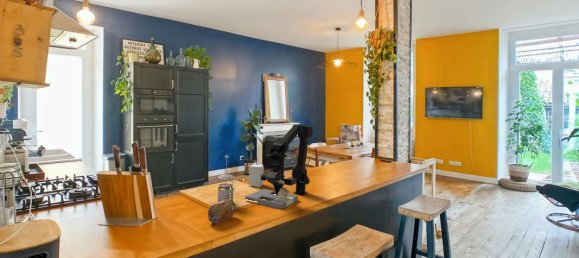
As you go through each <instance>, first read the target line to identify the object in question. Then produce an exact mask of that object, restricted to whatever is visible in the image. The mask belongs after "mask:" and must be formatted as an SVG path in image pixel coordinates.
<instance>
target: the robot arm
mask: <svg viewBox="0 0 579 258" xmlns="http://www.w3.org/2000/svg"><path fill="white" fill-rule="evenodd" d="M313 133H314V130H313V127H312V126H310V125H302V124H298V123H297V124H293V125H292V126H291V128H290V129H289V130H288V131H287V132H286V133H285V134H284V136H283V137H281V138H280V139H277V140H276V141H274V142H273V143H272V146H271V147H270V149H269V152H268V154H266V155H265V157H264V158H263V159H262V164H261V165H263V167H264V169H265V170H270V169H271V172H269V173H267V172H265V173H264V174H263V175H261V180H263V182H268V183H269V184H271V185H272V186H273V189H274V191H275V192H276V195H277V194H278V193H279V191H280V189H281V188H283V187H285V186H294V185H295V191H293V194H294V195H300V196H304V195H306V194H308V193H309V192H308V191H306V187H307V185H309V184H310V182H311V181H310V180H311V179H310V177H309V176H308V169H307V167H306V161H307V154H308V145H309V141H310V140H311V138H312V136H313ZM296 137H298V139H299V143H298V151H297V158H296V159H297V160H296V166H295V167H293V168H291V169H292V172H291V177H287V178H286V175H285V170H286V167H285V161H286V160H285V159H286V158H287V157H288V155H287V154H286V153H287V152H288V150H289V149H290V144H291V142H292V141H294V140H295V138H296Z"/></svg>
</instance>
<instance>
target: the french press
mask: <svg viewBox="0 0 579 258" xmlns="http://www.w3.org/2000/svg"><path fill="white" fill-rule="evenodd" d="M224 158H225V159H226V162H225V165H226V168H225V174H221V175H219V176H218V177H217V178H218V180H220V181H229V182H231V183H227V182H225V183H220V184H219V185H218V188H217V202H221V201H224V200H232V201H233V202H234V192H235V189H236V187H234V182H236V180H235V177H234V176H233V175H232V174H228V173H227V172H228V171H227V170H228V166H227V165H228V158H230V157H229V155H227V154H226V155H224ZM233 181H234V182H233Z"/></svg>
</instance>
